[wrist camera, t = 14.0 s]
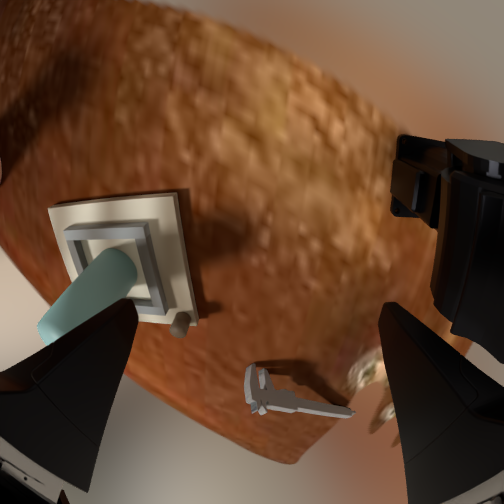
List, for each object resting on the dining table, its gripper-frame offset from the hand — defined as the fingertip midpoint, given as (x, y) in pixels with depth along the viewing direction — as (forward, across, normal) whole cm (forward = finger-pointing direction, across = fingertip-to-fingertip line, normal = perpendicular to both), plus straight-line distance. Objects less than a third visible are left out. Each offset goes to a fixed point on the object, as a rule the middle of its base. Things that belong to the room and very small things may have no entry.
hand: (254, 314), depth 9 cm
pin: (+12, +14, +6) cm, 19 cm away
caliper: (+14, -5, +26) cm, 30 cm away
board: (+13, +14, +6) cm, 20 cm away
